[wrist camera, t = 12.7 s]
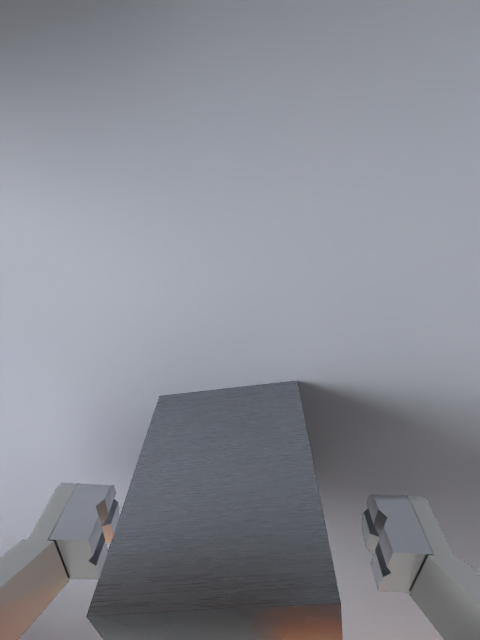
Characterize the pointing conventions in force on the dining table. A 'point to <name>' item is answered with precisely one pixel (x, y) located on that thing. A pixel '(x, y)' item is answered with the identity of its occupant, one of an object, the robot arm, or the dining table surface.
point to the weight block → (221, 526)
